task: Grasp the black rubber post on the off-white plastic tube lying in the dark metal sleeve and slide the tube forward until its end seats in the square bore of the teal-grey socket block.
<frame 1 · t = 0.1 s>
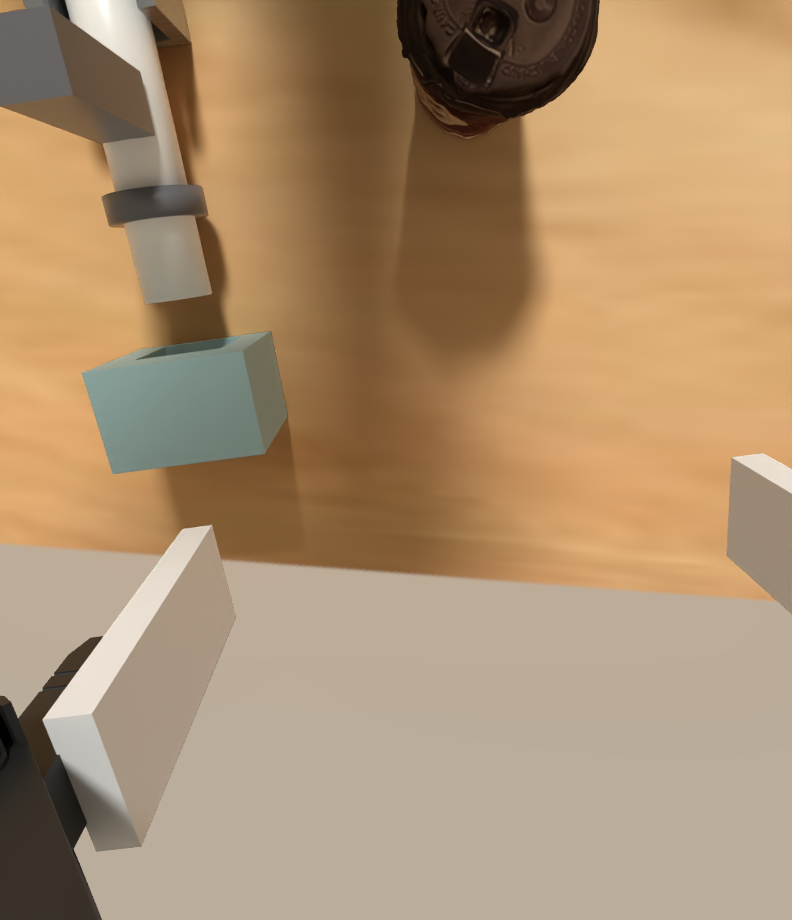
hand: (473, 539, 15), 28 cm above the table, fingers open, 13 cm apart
coffee cup: (464, 81, 37), on the table
tube: (87, 40, 29), point 7 cm above the table, slide at 0.0 cm
socket: (215, 383, 42), on the table
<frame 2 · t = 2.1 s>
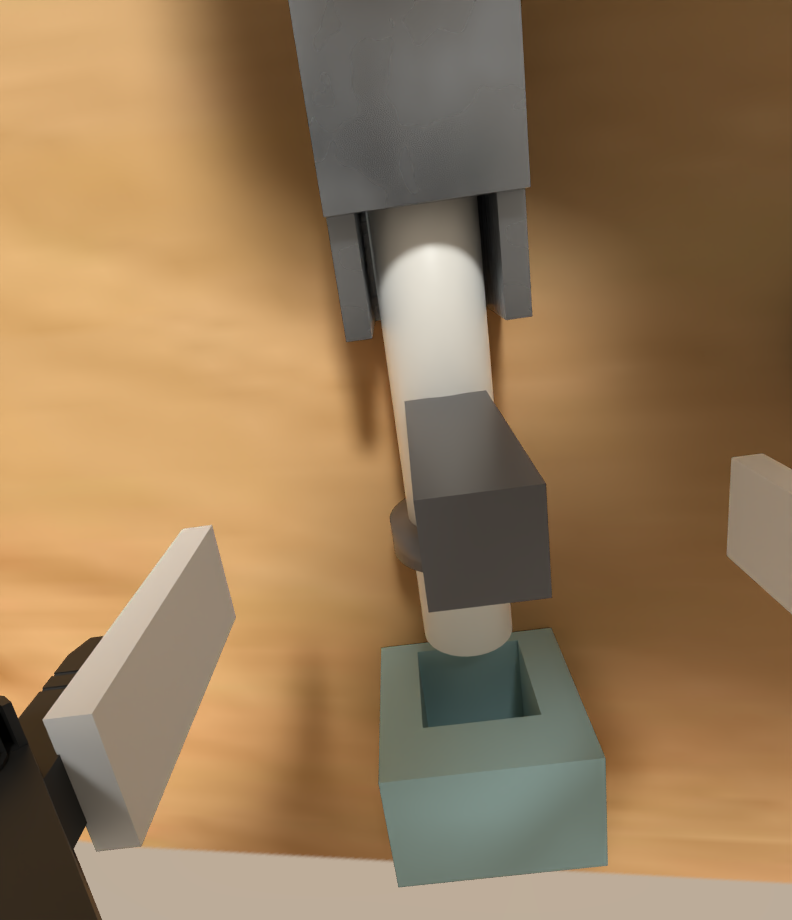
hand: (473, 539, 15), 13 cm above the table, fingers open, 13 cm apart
sleeve: (411, 157, 24), on the table
tube: (447, 382, 20), point 7 cm above the table, slide at 0.0 cm
socket: (471, 683, 33), on the table
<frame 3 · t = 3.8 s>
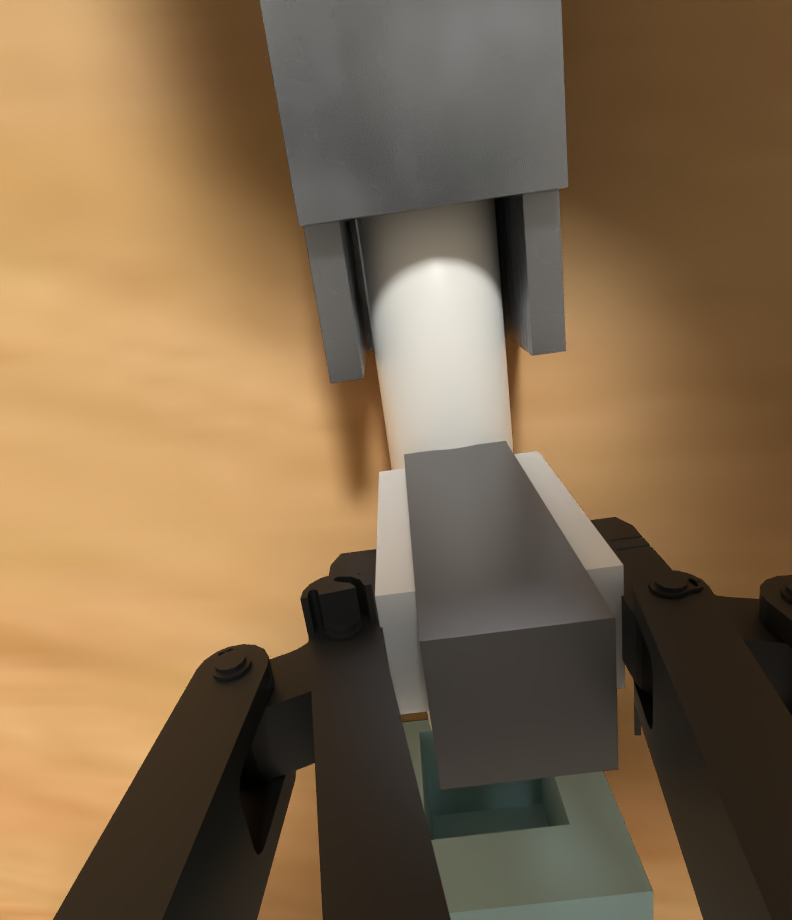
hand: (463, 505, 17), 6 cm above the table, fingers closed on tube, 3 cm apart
sleeve: (411, 154, 20), on the table
tube: (459, 436, 15), point 7 cm above the table, slide at 0.0 cm, touching gripper
socket: (481, 764, 28), on the table
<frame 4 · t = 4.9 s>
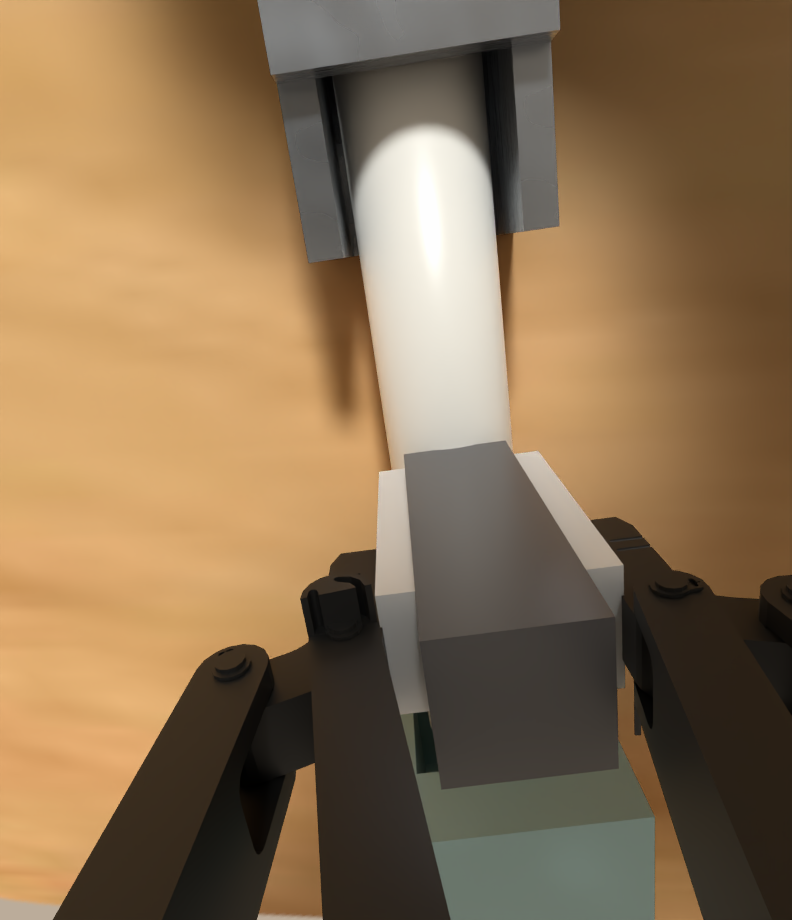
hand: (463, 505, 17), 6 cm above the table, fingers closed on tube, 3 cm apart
sleeve: (397, 43, 19), on the table
tube: (459, 436, 15), point 7 cm above the table, slide at 3.2 cm, touching gripper
socket: (475, 711, 27), on the table
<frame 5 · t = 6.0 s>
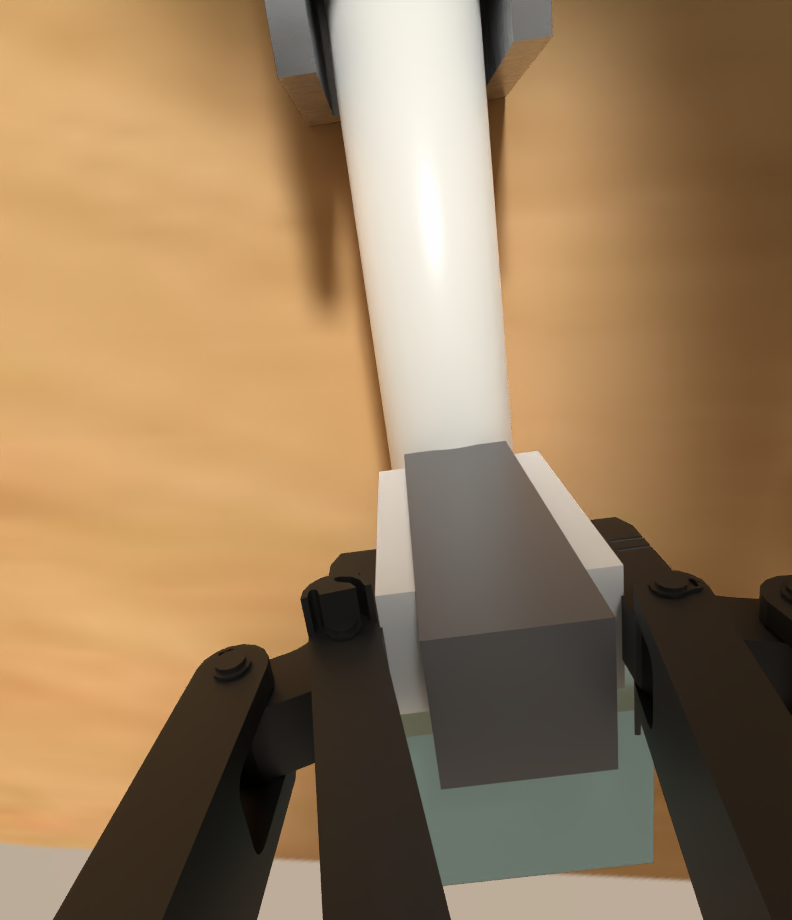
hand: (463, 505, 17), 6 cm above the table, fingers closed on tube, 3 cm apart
tube: (459, 436, 15), point 7 cm above the table, slide at 7.3 cm, touching gripper
socket: (466, 634, 26), on the table
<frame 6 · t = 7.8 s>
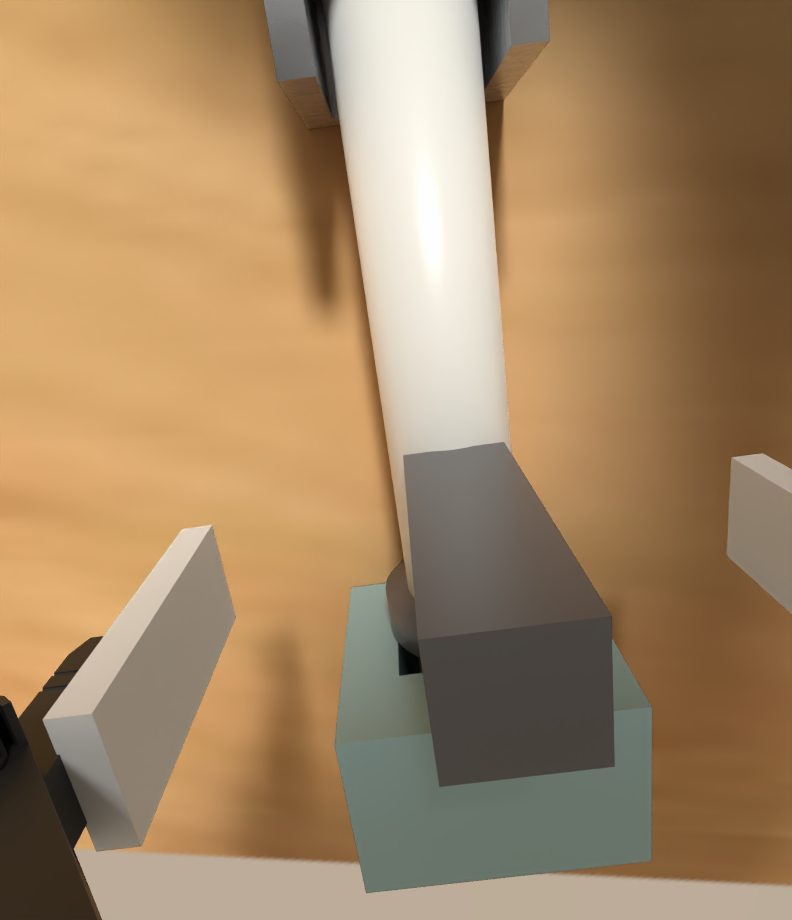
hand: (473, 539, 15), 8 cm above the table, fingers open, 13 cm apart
tube: (458, 437, 15), point 7 cm above the table, slide at 7.3 cm
socket: (465, 634, 26), on the table
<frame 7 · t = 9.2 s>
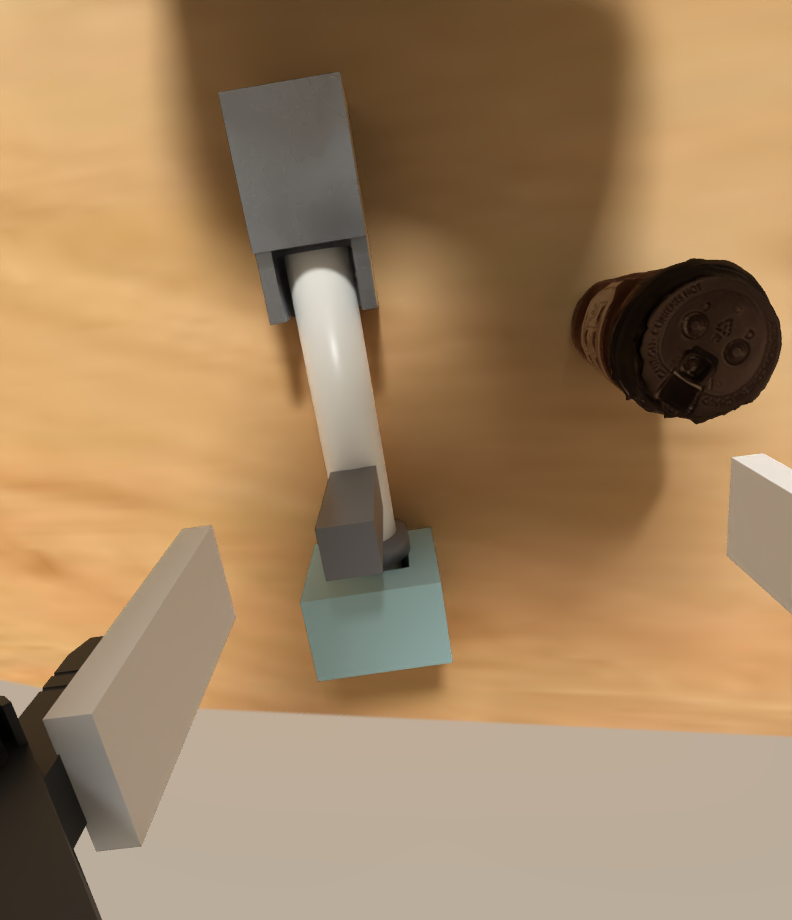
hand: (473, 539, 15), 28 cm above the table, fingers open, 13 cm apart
sleeve: (315, 216, 39), on the table
coffee cup: (612, 325, 42), on the table
tube: (348, 464, 37), point 7 cm above the table, slide at 7.3 cm
socket: (379, 570, 47), on the table
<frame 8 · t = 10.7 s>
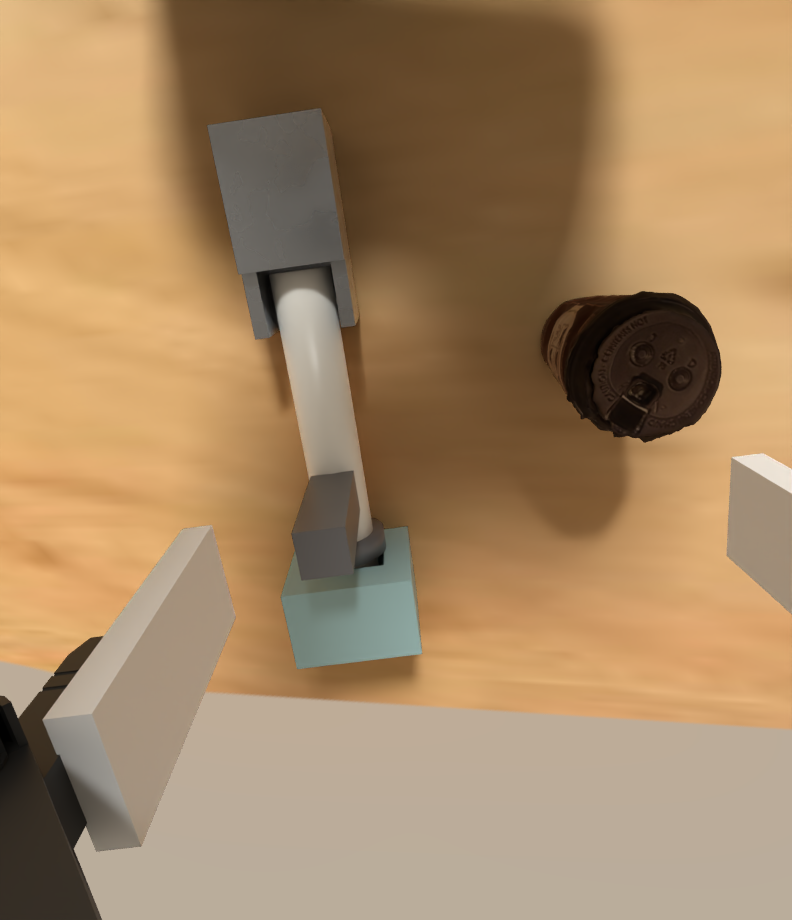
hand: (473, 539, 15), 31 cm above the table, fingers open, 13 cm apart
sleeve: (300, 234, 42), on the table
coffee cup: (580, 341, 45), on the table
tube: (326, 470, 40), point 7 cm above the table, slide at 7.3 cm
socket: (358, 565, 50), on the table
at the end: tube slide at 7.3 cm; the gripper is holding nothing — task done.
